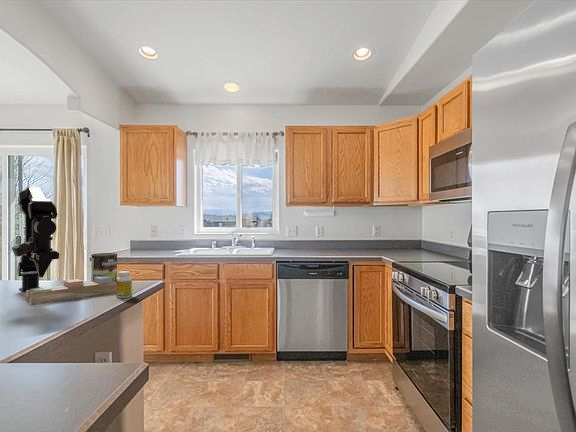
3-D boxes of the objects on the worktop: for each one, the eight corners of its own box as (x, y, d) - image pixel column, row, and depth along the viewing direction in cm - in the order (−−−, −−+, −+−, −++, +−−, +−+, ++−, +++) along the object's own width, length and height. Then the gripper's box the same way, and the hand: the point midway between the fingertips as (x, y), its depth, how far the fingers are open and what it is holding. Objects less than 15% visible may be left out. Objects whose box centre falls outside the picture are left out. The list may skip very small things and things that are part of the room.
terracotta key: (64, 291, 140) (64, 280, 140) (78, 289, 144) (78, 279, 144) (69, 293, 137) (69, 282, 137) (83, 291, 140) (83, 280, 140)
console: (25, 301, 131) (26, 290, 131) (108, 288, 154) (108, 279, 154) (32, 304, 127) (32, 293, 127) (115, 291, 149) (116, 282, 149)
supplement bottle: (125, 298, 138) (125, 273, 138) (113, 297, 139) (113, 272, 139) (134, 295, 143) (134, 271, 143) (122, 294, 144) (122, 270, 144)
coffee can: (121, 285, 161) (122, 254, 161) (99, 289, 152) (99, 256, 152) (108, 282, 167) (108, 252, 166) (85, 286, 158) (86, 254, 158)
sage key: (30, 299, 132) (30, 288, 131) (46, 297, 135) (46, 286, 135) (34, 302, 128) (34, 291, 128) (50, 299, 132) (51, 289, 132)
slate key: (94, 286, 148) (94, 277, 148) (106, 285, 152) (106, 275, 152) (99, 288, 145) (99, 278, 145) (112, 286, 149) (112, 277, 149)
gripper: (7, 233, 131) (6, 276, 131) (22, 236, 119) (21, 284, 119) (42, 232, 140) (42, 273, 140) (60, 235, 128) (59, 279, 128)
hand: (41, 277), depth 132 cm, fingers closed
